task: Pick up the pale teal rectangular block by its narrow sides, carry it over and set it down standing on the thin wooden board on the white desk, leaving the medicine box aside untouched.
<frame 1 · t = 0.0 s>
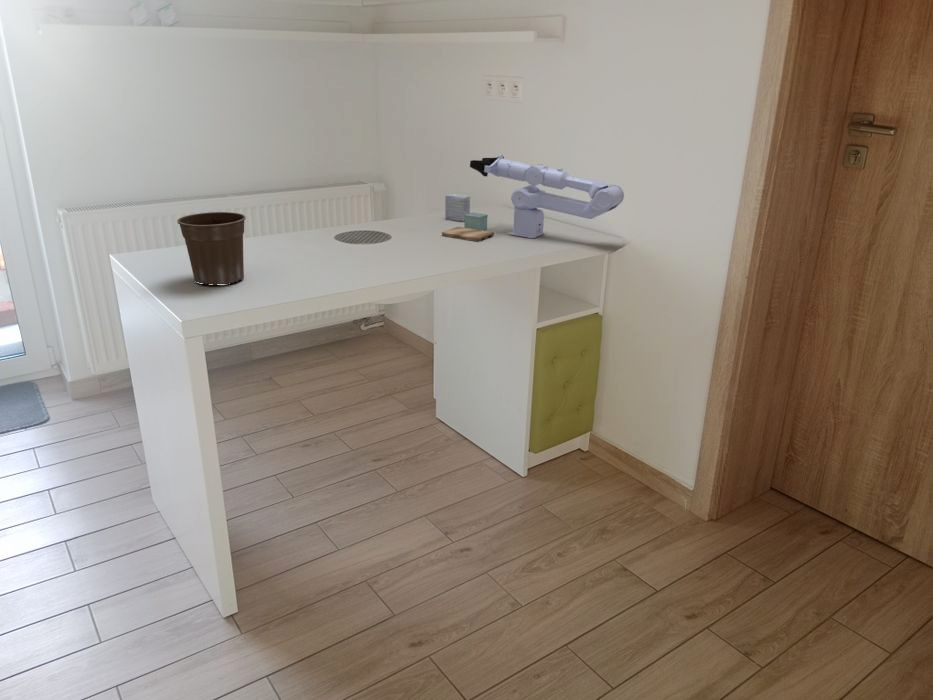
hand: (476, 162, 237), 22 cm above the table, tool horizontal, fingers open, 7 cm apart
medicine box: (457, 220, 256), on the table
pale teal rectangular block: (475, 229, 242), on the table
plant pot: (219, 280, 183), on the table
thin wooden board: (467, 235, 233), on the table
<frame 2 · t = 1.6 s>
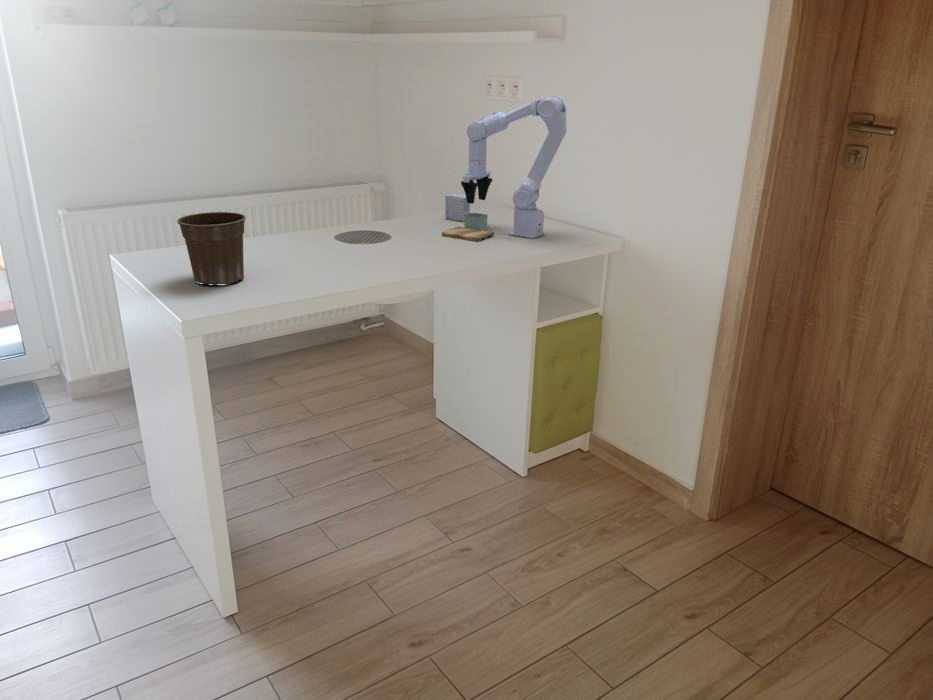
hand: (476, 201, 239), 9 cm above the table, tool pointing down, fingers open, 7 cm apart
nothing on the table moved.
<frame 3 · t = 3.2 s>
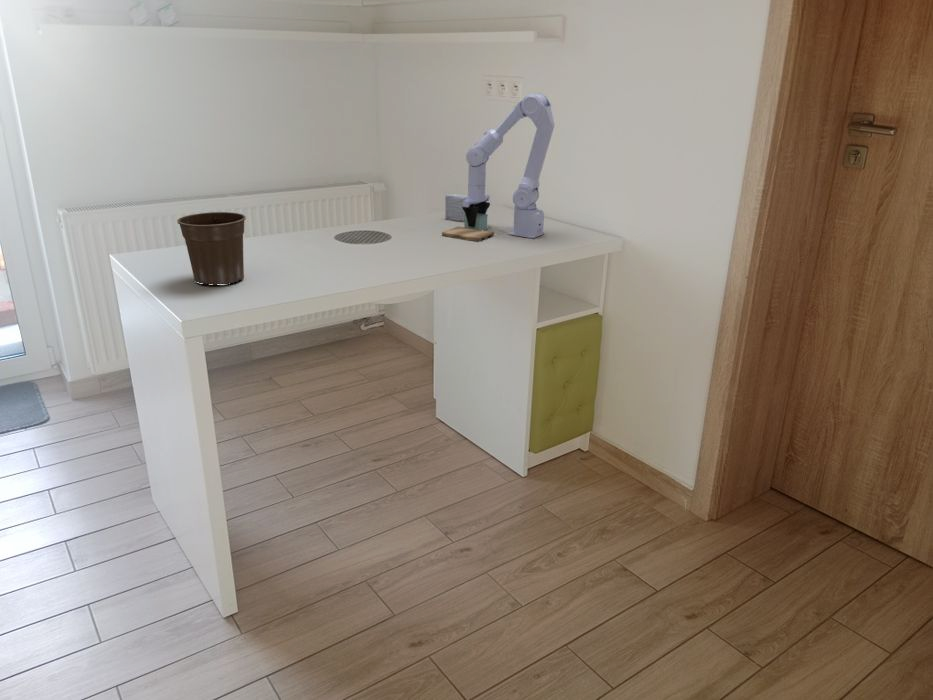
hand: (475, 225, 242), 1 cm above the table, tool pointing down, fingers closed on pale teal rectangular block, 5 cm apart
pale teal rectangular block: (475, 229, 242), on the table, touching gripper
everything else where it was.
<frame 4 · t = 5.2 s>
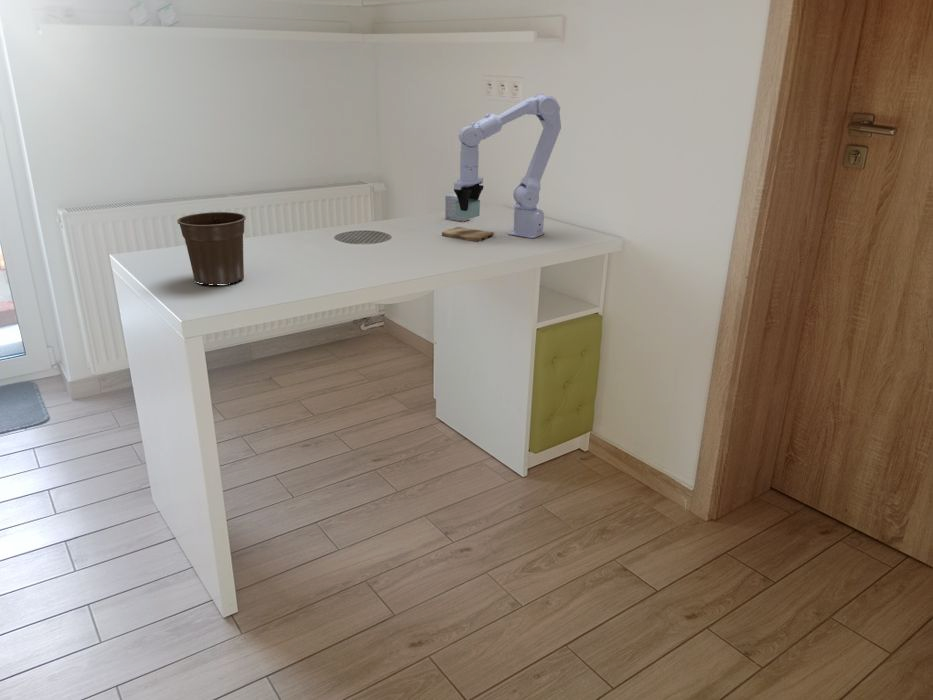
hand: (468, 209, 230), 9 cm above the table, tool pointing down, fingers closed on pale teal rectangular block, 5 cm apart
pale teal rectangular block: (467, 215, 231), point 7 cm above the table, touching gripper
everything else where it was.
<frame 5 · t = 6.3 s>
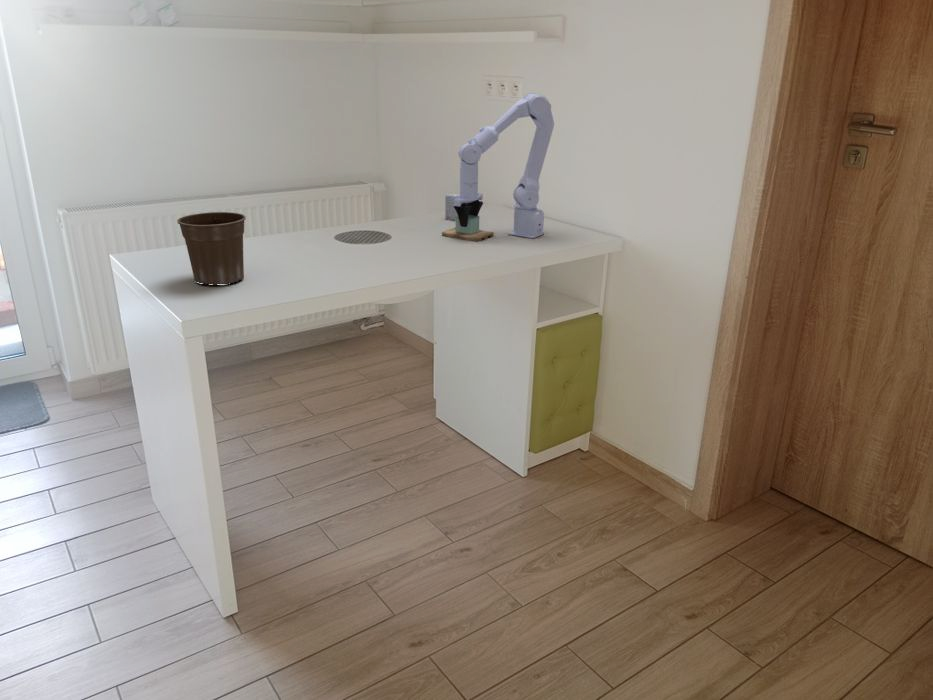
hand: (468, 225, 232), 4 cm above the table, tool pointing down, fingers closed on pale teal rectangular block, 5 cm apart
pale teal rectangular block: (467, 231, 233), point 1 cm above the table, touching gripper
everything else where it was.
when the fingers open (4 cm above the table, at t = 7.0 s): pale teal rectangular block stays where it is, resting on thin wooden board.
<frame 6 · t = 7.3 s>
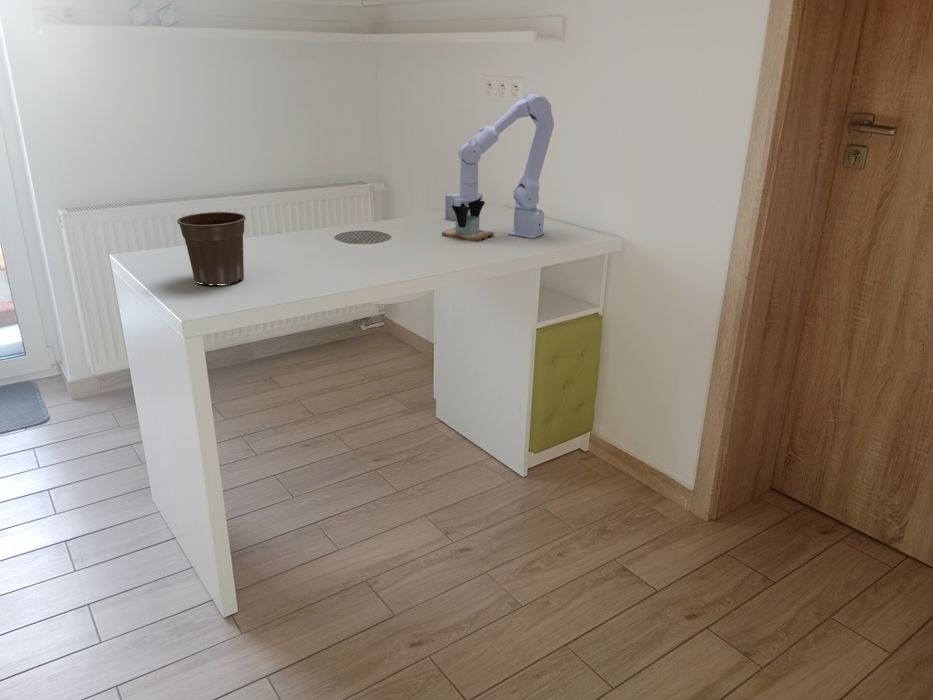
hand: (468, 225, 232), 4 cm above the table, tool pointing down, fingers open, 7 cm apart
pale teal rectangular block: (467, 232, 233), point 1 cm above the table, touching thin wooden board
everything else where it was.
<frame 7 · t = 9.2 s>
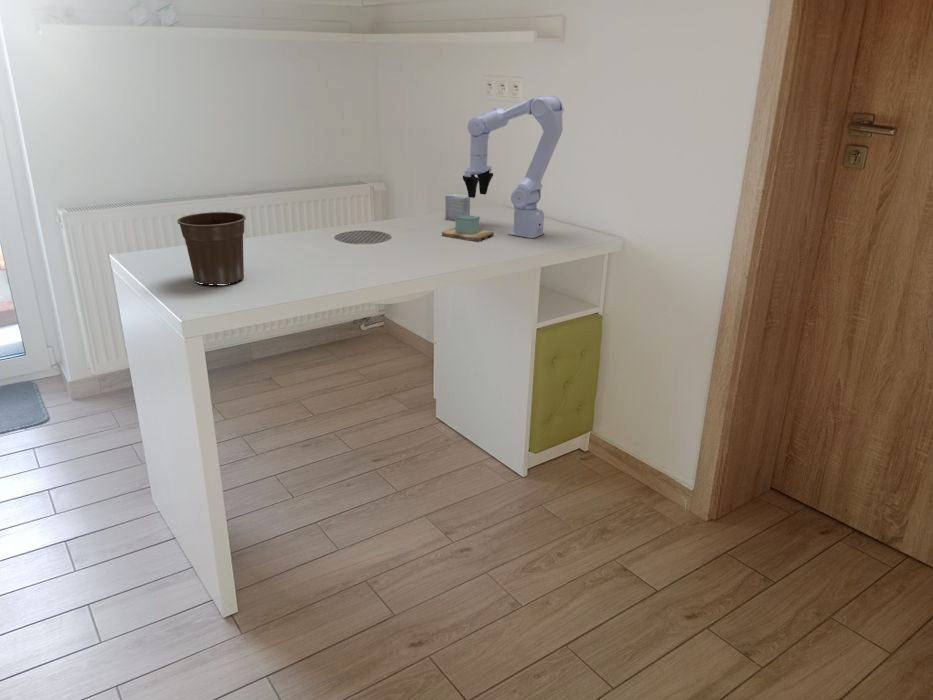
hand: (477, 195, 242), 11 cm above the table, tool pointing down, fingers open, 7 cm apart
nothing on the table moved.
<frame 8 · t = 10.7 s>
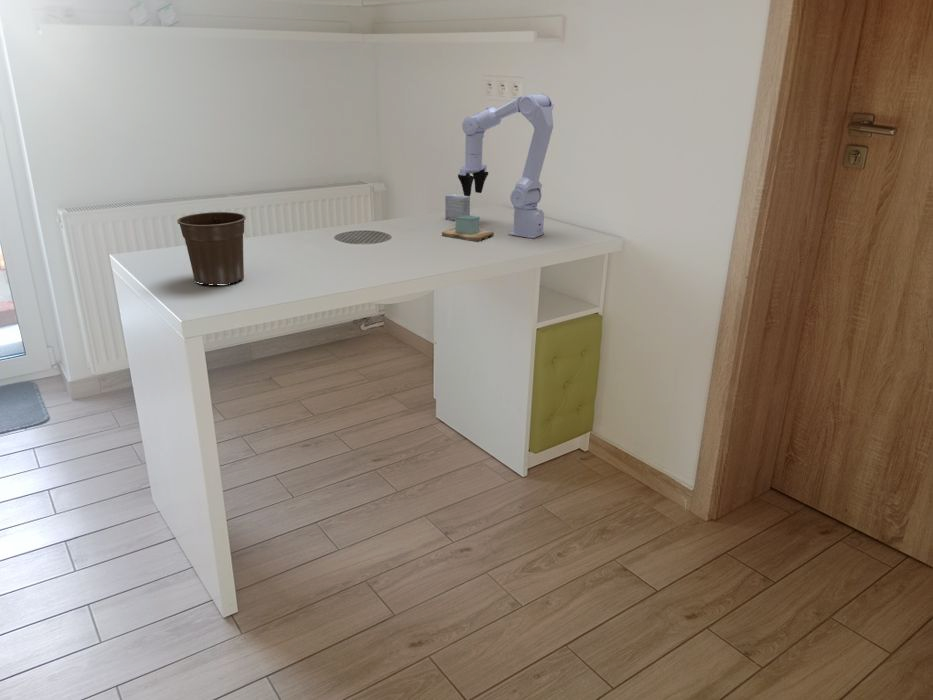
hand: (472, 194, 245), 10 cm above the table, tool pointing down, fingers open, 7 cm apart
nothing on the table moved.
at the end: pale teal rectangular block inside the target area on the thin wooden board (0.3 cm from its centre), point 1.2 cm above the thin wooden board's base; pale teal rectangular block tilted 0°; the gripper is holding nothing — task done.
